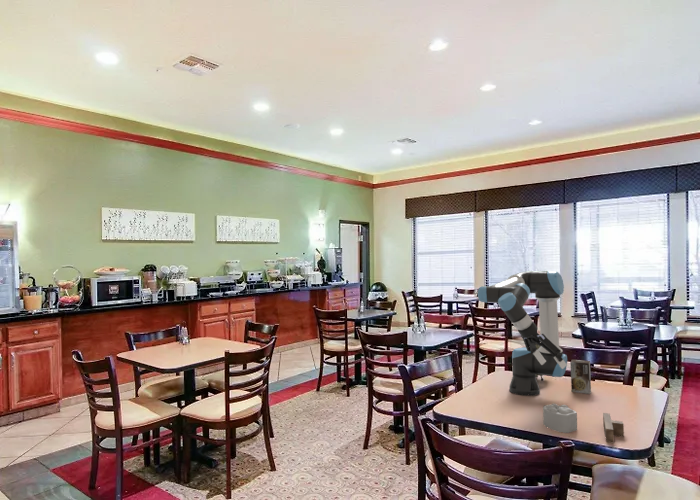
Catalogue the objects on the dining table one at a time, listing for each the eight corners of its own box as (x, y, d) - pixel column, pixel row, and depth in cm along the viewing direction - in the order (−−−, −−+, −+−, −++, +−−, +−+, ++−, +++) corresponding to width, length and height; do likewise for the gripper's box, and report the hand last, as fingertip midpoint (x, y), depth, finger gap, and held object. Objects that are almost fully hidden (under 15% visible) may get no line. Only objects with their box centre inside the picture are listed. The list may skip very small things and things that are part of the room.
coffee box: (591, 391, 239) (590, 360, 239) (590, 394, 233) (589, 363, 234) (572, 388, 243) (571, 359, 244) (570, 391, 238) (570, 361, 238)
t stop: (606, 441, 172) (605, 428, 172) (603, 424, 190) (603, 412, 190) (625, 444, 169) (625, 431, 169) (621, 427, 187) (620, 415, 187)
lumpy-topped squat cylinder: (564, 434, 180) (563, 412, 180) (537, 424, 192) (536, 403, 192) (580, 429, 185) (580, 408, 185) (553, 419, 197) (552, 400, 197)
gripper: (503, 329, 204) (530, 366, 204) (536, 332, 179) (567, 374, 180) (514, 319, 205) (541, 356, 206) (549, 320, 181) (579, 362, 182)
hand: (553, 364), depth 193 cm, fingers open, 13 cm apart
